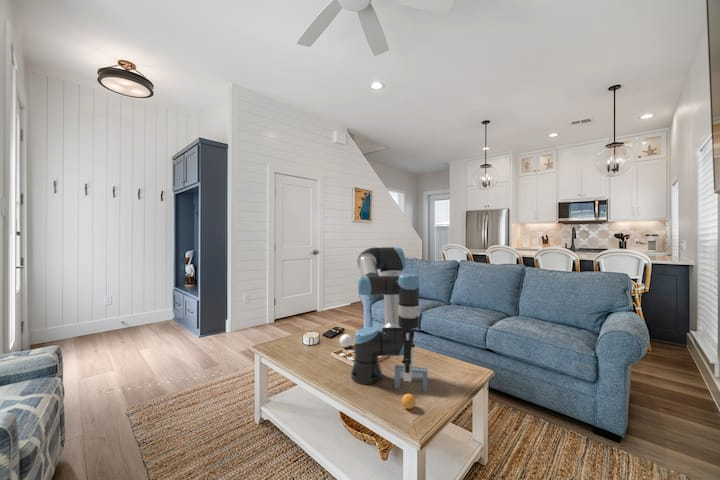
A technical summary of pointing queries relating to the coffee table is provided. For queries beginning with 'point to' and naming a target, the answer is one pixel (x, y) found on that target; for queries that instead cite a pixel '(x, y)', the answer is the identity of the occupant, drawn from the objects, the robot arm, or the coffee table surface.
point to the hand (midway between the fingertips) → (408, 372)
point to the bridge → (413, 369)
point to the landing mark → (413, 376)
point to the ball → (408, 401)
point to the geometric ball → (346, 340)
